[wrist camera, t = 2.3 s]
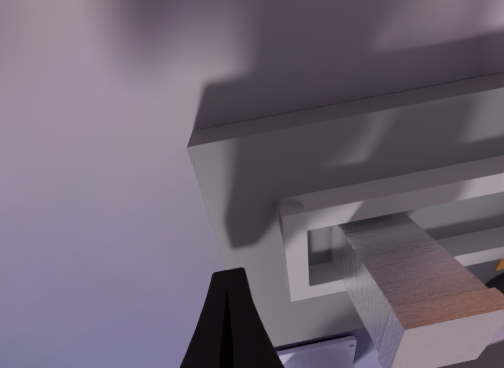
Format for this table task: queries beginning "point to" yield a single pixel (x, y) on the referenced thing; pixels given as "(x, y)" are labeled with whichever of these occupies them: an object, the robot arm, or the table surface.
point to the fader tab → (413, 293)
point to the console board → (353, 192)
